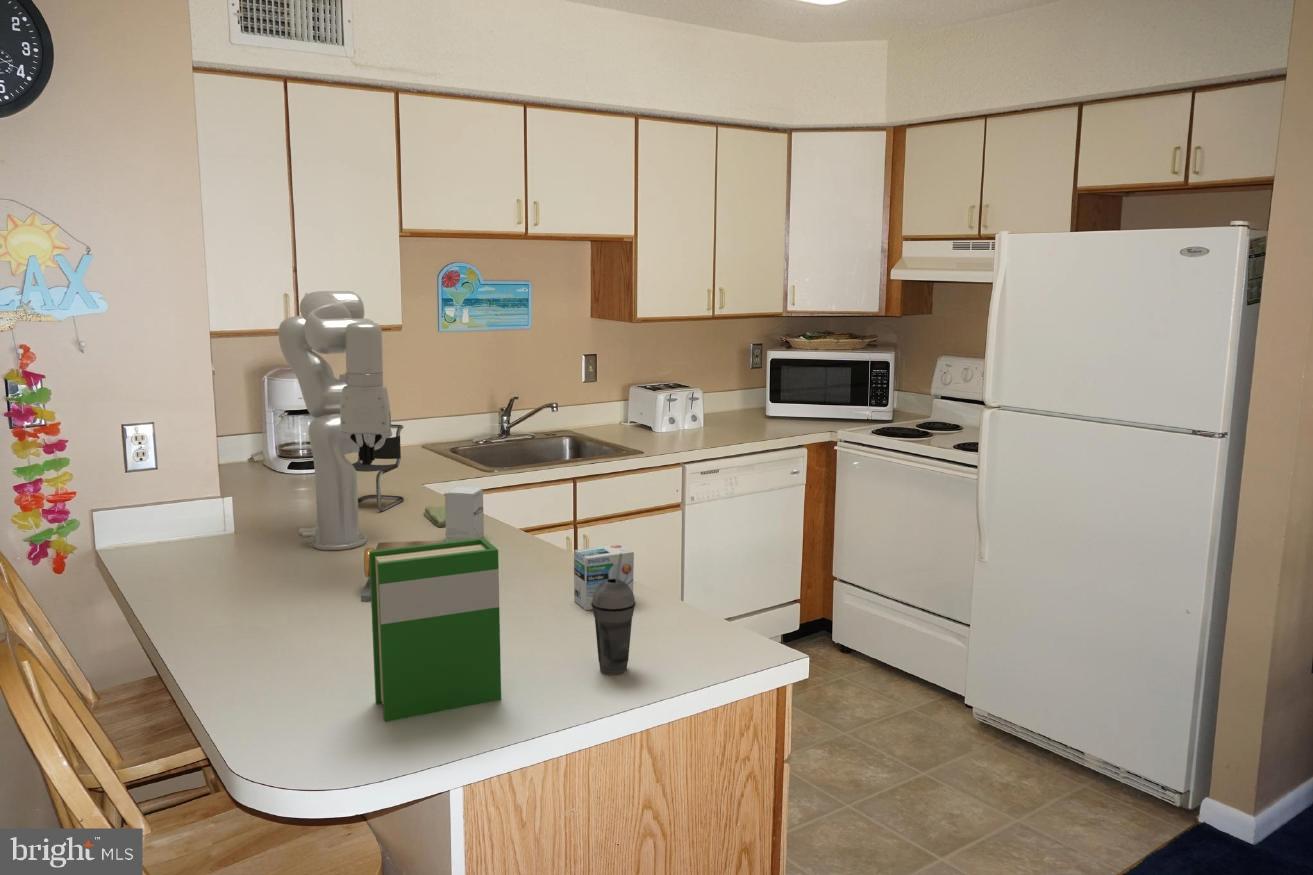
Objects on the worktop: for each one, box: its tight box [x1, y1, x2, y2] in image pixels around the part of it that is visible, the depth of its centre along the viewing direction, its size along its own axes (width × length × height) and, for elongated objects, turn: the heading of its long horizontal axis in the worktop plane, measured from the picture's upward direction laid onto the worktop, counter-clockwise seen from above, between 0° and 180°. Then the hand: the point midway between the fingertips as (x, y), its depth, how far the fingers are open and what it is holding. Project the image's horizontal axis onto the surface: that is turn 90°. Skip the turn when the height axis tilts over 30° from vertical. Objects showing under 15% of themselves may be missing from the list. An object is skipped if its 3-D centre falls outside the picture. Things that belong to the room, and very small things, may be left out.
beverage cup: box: [591, 553, 636, 676], centre depth 160 cm, size 7×7×20 cm
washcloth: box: [423, 504, 446, 528], centre depth 261 cm, size 13×18×3 cm
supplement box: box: [444, 486, 485, 542], centre depth 239 cm, size 7×7×13 cm
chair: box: [351, 423, 404, 512], centre depth 273 cm, size 13×17×22 cm
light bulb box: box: [573, 543, 635, 611], centre depth 194 cm, size 11×7×11 cm, turn 118°
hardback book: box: [369, 537, 502, 723], centre depth 148 cm, size 18×7×24 cm, turn 116°
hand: (367, 463), depth 212 cm, fingers closed
